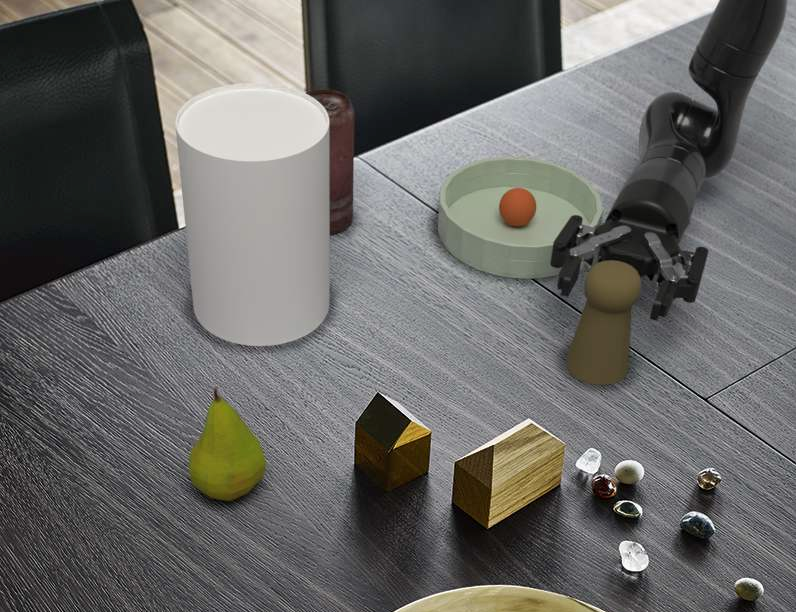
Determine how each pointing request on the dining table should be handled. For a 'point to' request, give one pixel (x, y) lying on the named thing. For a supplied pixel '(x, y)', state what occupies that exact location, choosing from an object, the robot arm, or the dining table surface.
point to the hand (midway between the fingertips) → (610, 300)
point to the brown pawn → (605, 324)
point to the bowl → (499, 241)
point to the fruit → (226, 454)
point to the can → (339, 157)
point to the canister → (256, 211)
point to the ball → (517, 207)
